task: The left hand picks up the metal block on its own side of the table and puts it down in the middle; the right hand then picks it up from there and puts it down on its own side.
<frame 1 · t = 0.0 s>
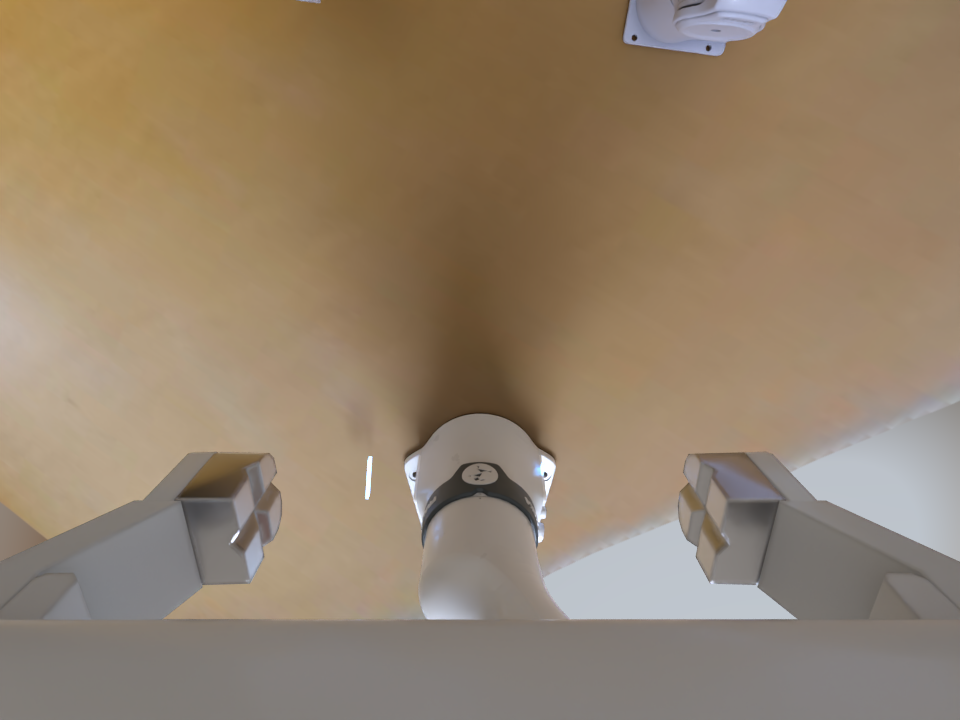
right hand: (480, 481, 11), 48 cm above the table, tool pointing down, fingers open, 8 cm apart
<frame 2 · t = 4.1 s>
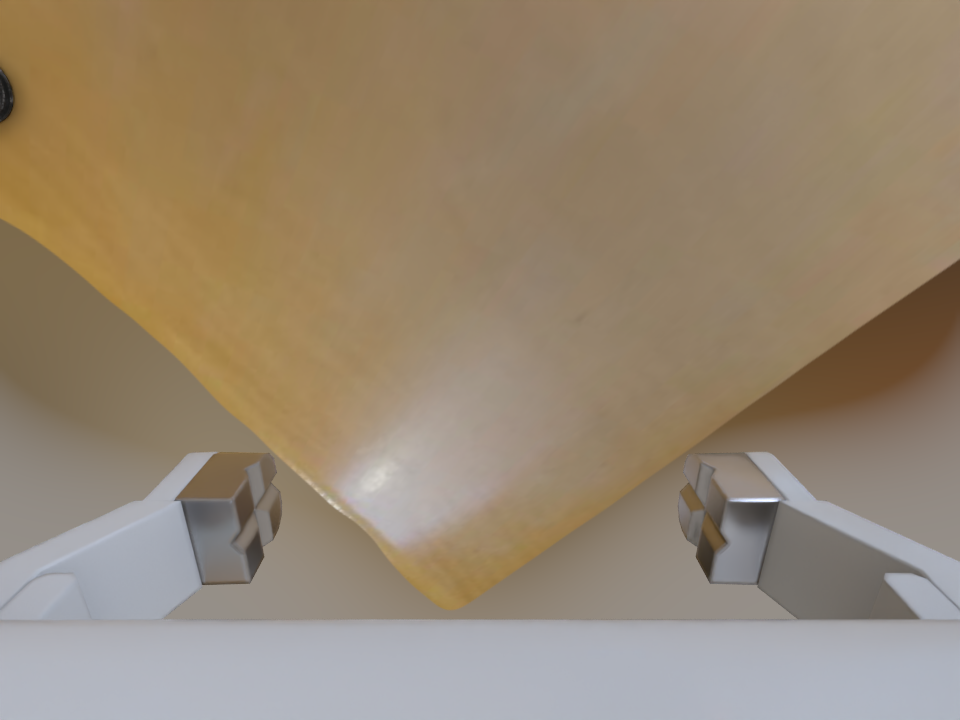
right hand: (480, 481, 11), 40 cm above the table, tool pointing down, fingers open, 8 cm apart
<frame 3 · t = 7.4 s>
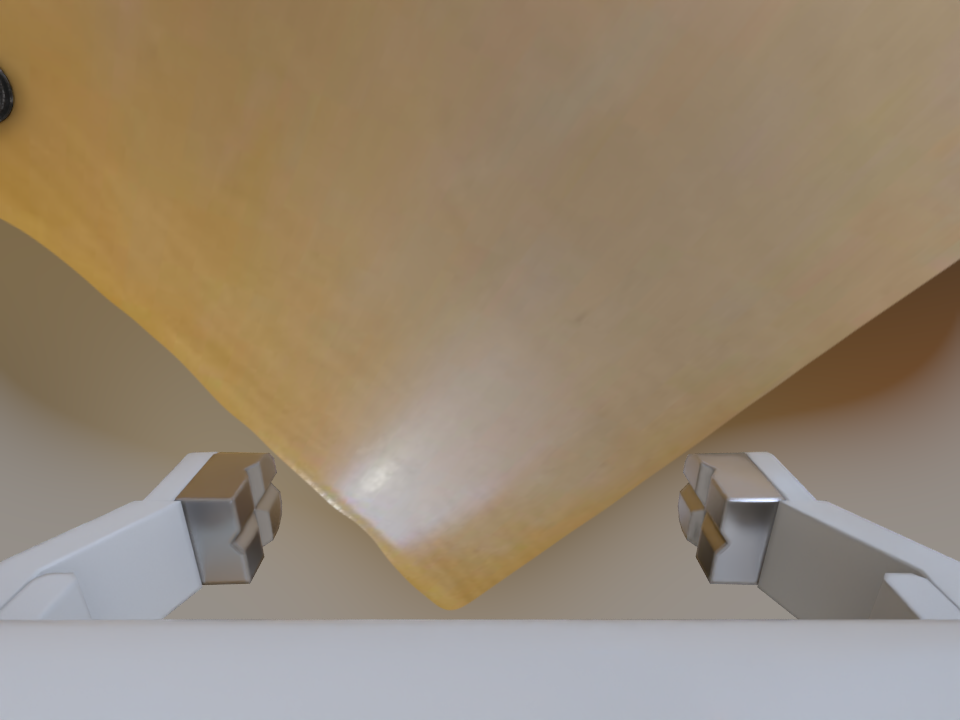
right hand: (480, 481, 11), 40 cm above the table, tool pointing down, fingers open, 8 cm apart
when the left hand's fingers open (2 cm above the table, at t = 10.9 s): block stays where it is, on the table.
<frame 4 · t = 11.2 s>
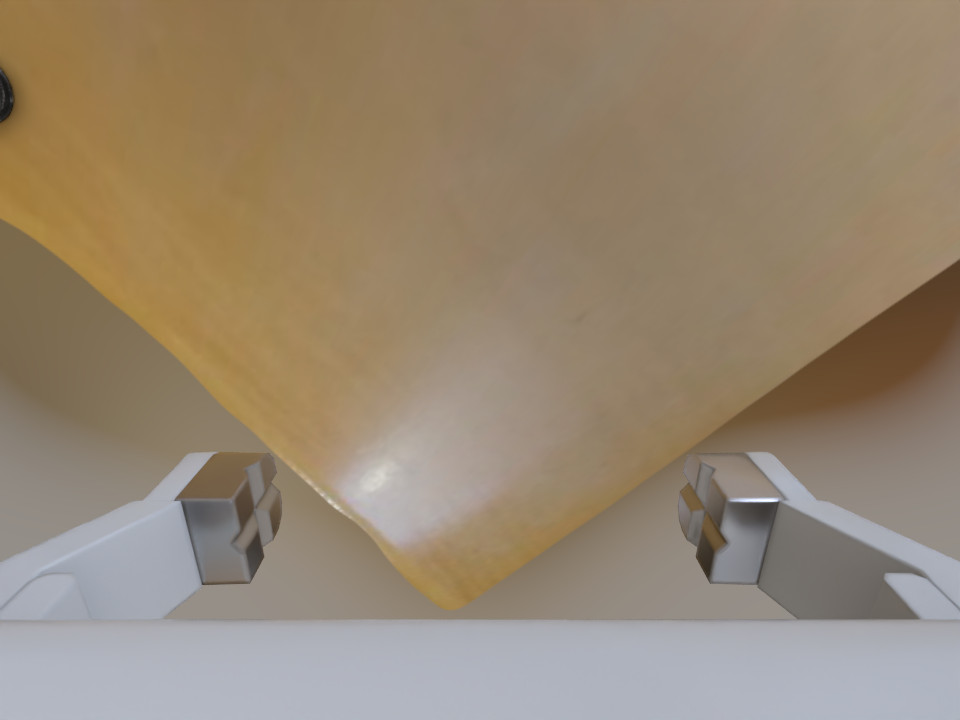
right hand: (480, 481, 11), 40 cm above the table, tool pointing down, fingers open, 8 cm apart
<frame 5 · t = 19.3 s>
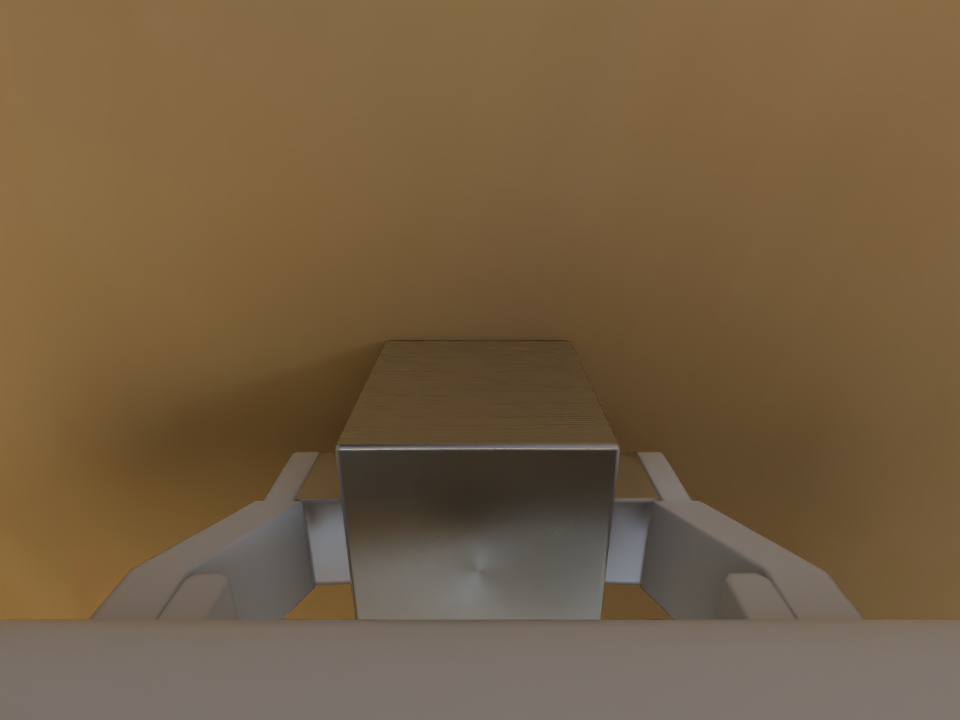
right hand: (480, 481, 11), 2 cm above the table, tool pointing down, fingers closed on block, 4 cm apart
block: (478, 430, 13), on the table, touching right hand
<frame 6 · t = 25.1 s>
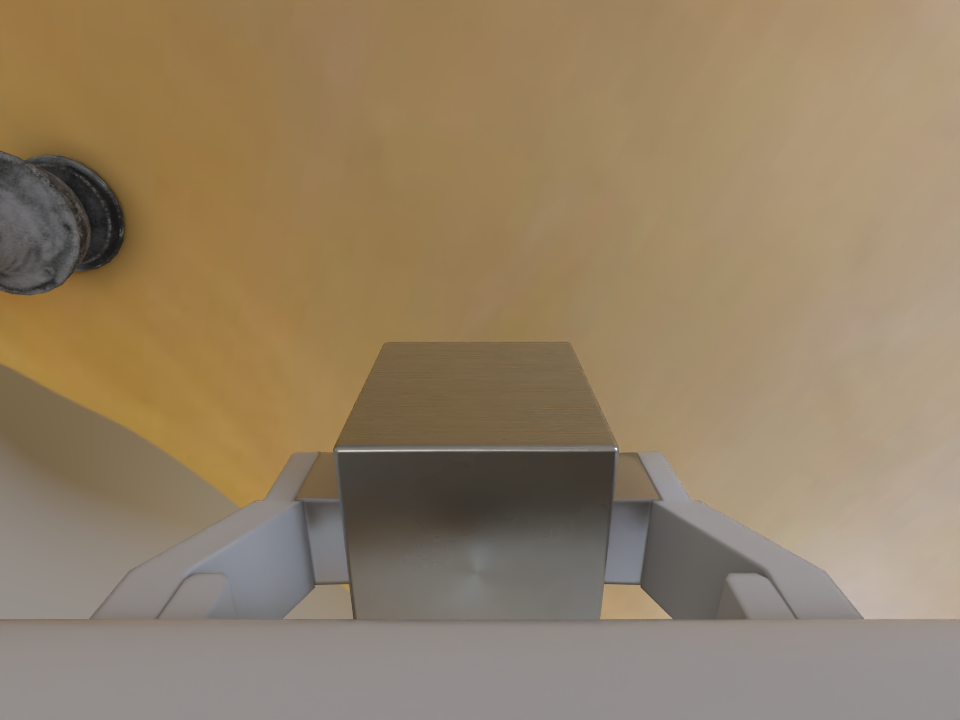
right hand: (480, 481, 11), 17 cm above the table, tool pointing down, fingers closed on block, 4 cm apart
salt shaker: (69, 214, 25), on the table
block: (477, 431, 12), point 15 cm above the table, touching right hand
when the right hand's fingers open (3 cm above the table, at t = 30.9 s): block stays where it is, on the table.
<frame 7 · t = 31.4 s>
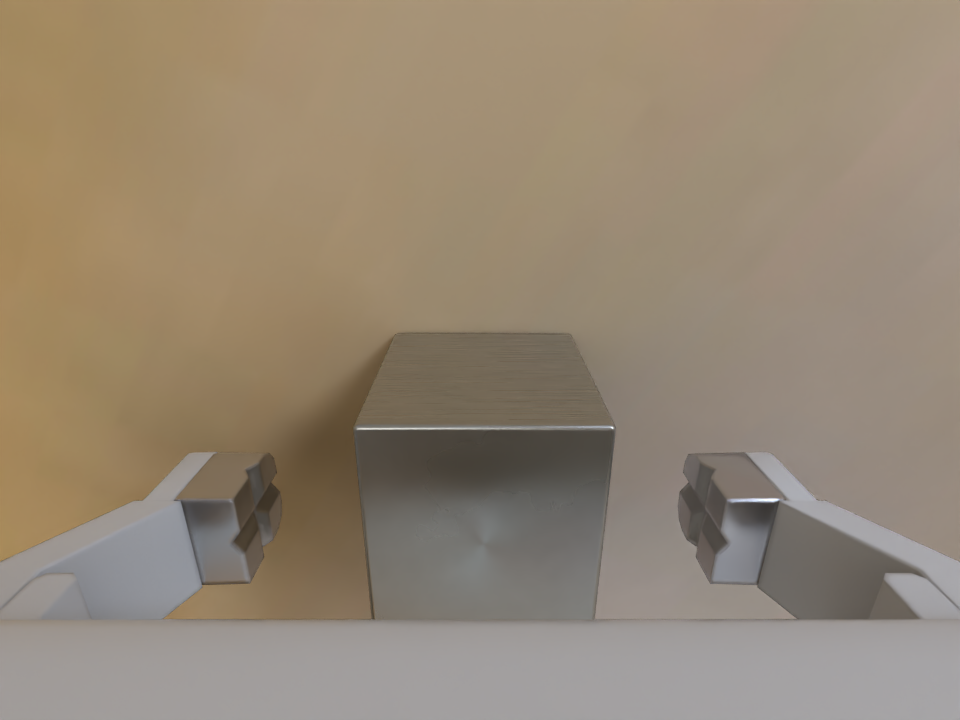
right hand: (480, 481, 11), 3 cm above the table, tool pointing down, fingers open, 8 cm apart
block: (482, 419, 13), on the table
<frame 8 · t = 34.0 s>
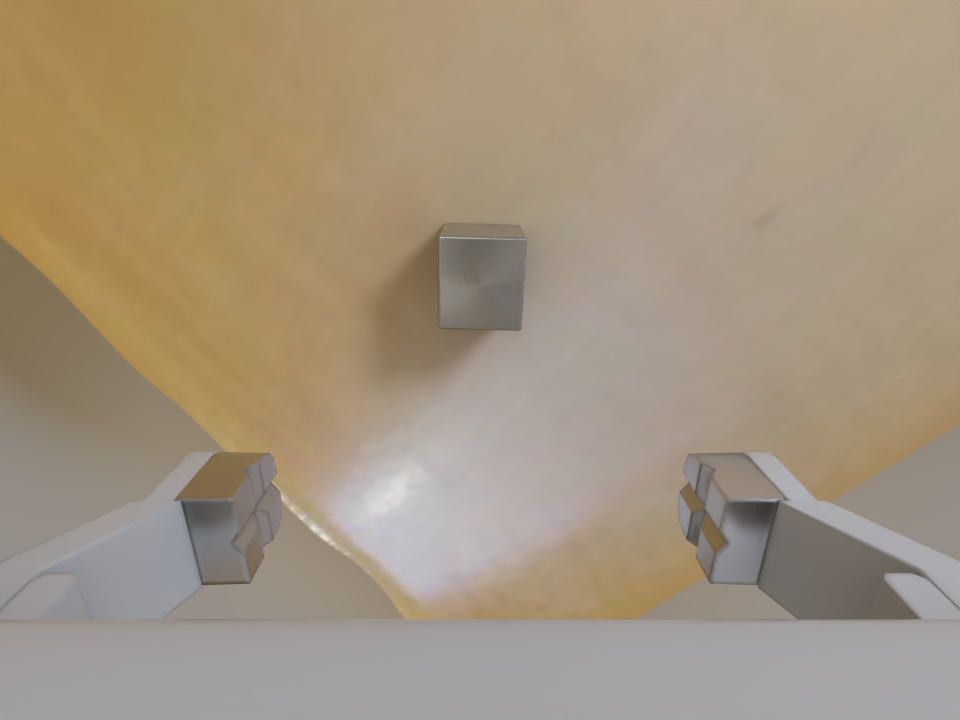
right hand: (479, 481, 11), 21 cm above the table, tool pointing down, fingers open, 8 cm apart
block: (481, 265, 30), on the table
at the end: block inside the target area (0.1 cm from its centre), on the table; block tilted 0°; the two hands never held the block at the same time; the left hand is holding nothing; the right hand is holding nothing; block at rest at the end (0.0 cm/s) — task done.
